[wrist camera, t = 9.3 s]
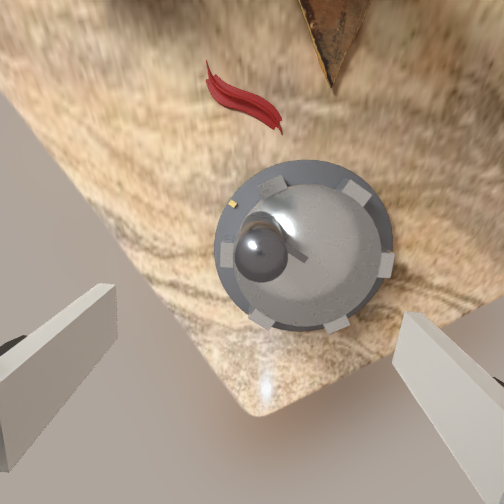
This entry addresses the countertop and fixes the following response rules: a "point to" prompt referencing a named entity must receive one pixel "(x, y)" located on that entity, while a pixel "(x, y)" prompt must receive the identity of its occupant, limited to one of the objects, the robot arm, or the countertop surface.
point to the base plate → (291, 174)
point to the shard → (333, 30)
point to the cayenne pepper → (243, 101)
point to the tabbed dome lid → (306, 254)
